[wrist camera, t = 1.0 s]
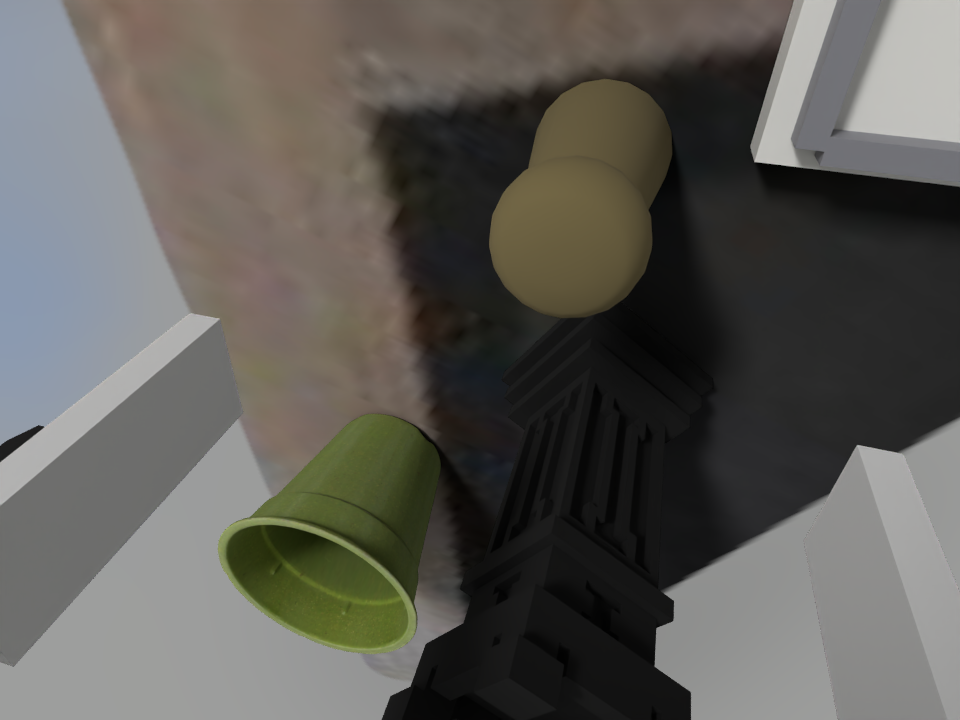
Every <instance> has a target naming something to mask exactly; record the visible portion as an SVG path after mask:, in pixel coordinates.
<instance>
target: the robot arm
mask: <svg viewBox="0 0 960 720" xmlns="http://www.w3.org/2000/svg"><path fill="white" fill-rule="evenodd" d="M242 413H243V409H242V405H241V401H240V397H239V393H238V389H237V385H236V381H235V377H234V373H233V369H232V365H231V361H230V357H229V353H228V349H227V345H226V341H225V337H224V333H223V329H222V325H221V321H220V319H218V318H213V317H207V316H202V315H197V314H192V313H189V314H188V315H187V316H186V317H184V318H183V319H182V320H181V321H179V322H178V323H177V324H175V325H174V326H173V327H172V328H170V329H169V330H168V331H166V332H165V333H164V334H163V335H161V336H160V337H159V338H158V339H156V340H155V341H154V342H152V343H151V344H150V345H149V346H147V347H146V348H145V349H144V350H142V351H141V352H140V353H138V354H137V355H136V356H135V357H133V358H132V359H131V360H130V361H128V362H127V363H126V364H125V365H124V366H122V367H121V368H119V369H118V370H117V371H116V372H115V373H113V374H112V375H111V376H109V377H108V378H107V379H105V380H104V381H103V382H102V383H101V384H99V385H98V386H97V387H95V388H94V389H93V390H91V391H90V392H89V393H88V394H86V395H85V396H84V397H83V398H81V399H80V400H79V401H78V402H76V403H75V404H74V405H72V406H71V407H70V408H69V409H67V410H66V411H65V412H64V413H62V414H61V415H60V416H59V417H57V418H56V419H55V420H53V421H52V422H51V423H50V424H48V425H47V426H46V427H43V426H39V425H38V426H36V427H34V428H32V429H30V430H28V431H26V432H24V433H22V434H20V435H18V436H16V437H14V438H12V439H9V440H7V441H6V442H4V443H3V444H2V445H1V446H0V662H1V663H4V664H7V665H10V666H13V667H14V666H15V665H16V663H17V662H18V661H19V660H20V659H21V658H22V657H23V656H24V655H25V654H26V652H27V651H28V650H29V649H30V648H31V647H32V646H33V645H34V643H35V642H36V641H37V640H38V639H39V638H40V637H41V636H42V635H43V633H44V632H45V631H46V630H47V629H48V628H49V627H50V626H51V625H52V624H53V622H54V621H55V620H56V619H57V618H58V617H59V616H60V615H61V614H62V613H63V611H64V610H65V609H66V608H67V607H68V606H69V605H70V604H71V603H72V602H73V600H74V599H75V598H76V597H77V596H78V595H79V594H80V593H81V592H82V590H83V589H84V588H85V587H86V586H87V585H88V584H89V583H90V582H91V580H92V579H93V578H94V577H95V576H96V575H97V574H98V573H99V572H100V571H101V569H102V568H103V567H104V566H105V565H106V564H107V563H108V562H109V560H110V559H111V558H112V557H113V556H114V555H115V554H116V553H117V552H118V551H119V549H120V548H121V547H122V546H123V545H124V544H125V543H126V542H127V541H128V539H129V538H130V537H131V536H132V535H133V534H134V533H135V532H136V531H137V530H138V528H139V527H140V526H141V525H142V524H143V523H144V522H145V521H146V520H147V518H148V517H149V516H150V515H151V514H152V513H153V512H154V511H155V509H157V507H158V506H159V505H160V504H161V503H162V502H163V501H164V500H165V499H166V497H167V496H168V495H169V494H170V493H171V492H172V491H173V490H174V489H175V488H176V486H177V485H178V484H179V483H180V482H181V481H182V480H183V479H184V478H185V476H186V475H187V474H188V473H189V472H190V471H191V470H192V469H193V468H194V466H195V465H196V464H197V463H198V462H199V461H200V460H201V459H202V458H203V457H204V455H205V454H206V453H207V452H208V451H209V450H210V449H211V448H212V447H213V445H214V444H215V443H216V442H217V441H218V440H219V439H220V438H221V437H222V435H223V434H224V433H225V432H226V431H227V430H228V429H229V428H230V427H231V425H232V424H233V423H234V422H235V421H236V420H237V419H238V418H239V417H240V416H241V414H242ZM804 545H805V551H806V556H807V561H808V565H809V571H810V576H811V582H812V587H813V592H814V597H815V603H816V608H817V613H818V619H819V623H820V629H821V634H822V639H823V645H824V649H825V655H826V660H827V666H828V671H829V676H830V681H831V686H832V692H833V697H834V702H835V707H836V712H837V717H838V720H960V591H959V589H958V586H957V584H956V581H955V579H954V577H953V575H952V572H951V569H950V567H949V565H948V562H947V560H946V557H945V555H944V552H943V550H942V547H941V545H940V543H939V540H938V538H937V535H936V533H935V530H934V528H933V525H932V523H931V520H930V518H929V516H928V513H927V511H926V509H925V506H924V503H923V501H922V499H921V496H920V494H919V491H918V489H917V487H916V484H915V481H914V479H913V477H912V474H911V472H910V469H909V467H908V464H907V462H906V460H905V457H904V455H903V454H900V453H895V452H890V451H885V450H880V449H875V448H870V447H865V446H860V445H857V446H856V448H855V450H854V452H853V453H852V455H851V457H850V459H849V460H848V462H847V464H846V466H845V468H844V469H843V471H842V473H841V475H840V477H839V478H838V480H837V482H836V484H835V486H834V487H833V489H832V491H831V493H830V494H829V496H828V498H827V500H826V502H825V503H824V505H823V507H822V509H821V511H820V512H819V514H818V516H817V518H816V520H815V522H814V523H813V525H812V527H811V529H810V530H809V532H808V534H807V536H806V537H805V539H804Z"/></svg>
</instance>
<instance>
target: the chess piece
mask: <svg viewBox="0 0 960 720" xmlns="http://www.w3.org/2000/svg"><path fill="white" fill-rule="evenodd" d="M502 381H503V382H505V383H506V384H507V385H509V386H510V387H509V388H508V389H507V392H506V395H505V397H504V398H505V399H507V400H508V401H509V402H511V403H512V404H513V406H512V407H511V409H510V412H509V414H508V418H510V419H511V420H512V421H514V422H515V423H516V424H518V425H519V426H520V427H522V428H523V429H524V430H525V431H524V434H523V438H522V441H521V444H520V447H519V450H518V453H517V457H516V460H515V463H514V466H513V469H512V472H511V475H510V479H509V482H508V485H507V488H506V491H505V494H504V497H503V501H502V504H501V507H500V510H499V513H498V516H497V520H496V523H495V526H494V529H493V532H492V535H491V538H490V542H489V545H488V548H487V551H486V554H485V557H484V561H482V562H480V563H479V564H477V565H476V566H474V567H473V568H471V569H469V570H468V571H466V573H465V576H464V579H463V582H462V585H461V588H460V589H461V590H462V591H464V592H465V593H466V594H468V595H469V596H471V597H472V598H471V602H470V605H469V608H468V611H467V614H466V617H465V620H464V623H463V624H461V625H459V626H458V627H456V628H454V629H452V630H450V631H449V632H447V633H445V634H443V635H441V636H440V637H438V638H436V639H434V640H432V641H430V642H429V643H427V644H426V645H425V648H424V651H423V653H422V656H421V659H420V662H419V665H418V667H417V670H416V673H415V676H414V678H413V681H412V684H411V687H409V688H407V689H404V690H403V691H400V692H399V693H396V694H394V695H392V696H391V697H390V699H389V702H388V705H387V707H386V710H385V713H384V715H383V718H382V720H691V693H690V691H688V690H687V689H685V688H684V687H682V686H681V685H680V684H678V683H677V682H675V681H674V680H672V679H671V678H670V677H668V676H667V675H665V674H664V673H663V672H661V671H659V670H658V669H657V668H655V667H654V665H655V643H656V628H657V627H660V626H662V625H665V624H667V623H670V622H672V621H673V618H674V601H673V600H672V599H670V598H669V597H668V596H666V595H665V594H664V593H662V592H661V591H660V590H658V577H659V555H660V532H661V510H662V488H663V466H664V444H665V443H666V442H668V441H670V440H671V439H673V438H674V437H676V436H677V435H679V434H680V433H682V432H684V431H685V430H687V429H688V428H690V416H689V415H691V414H692V413H694V412H695V411H697V410H698V409H700V408H701V407H702V397H701V396H702V395H703V394H705V393H706V392H708V391H709V390H711V389H712V388H713V379H712V378H711V377H710V376H709V375H707V374H706V373H705V372H704V371H703V370H701V369H700V368H699V367H698V366H697V365H695V364H694V363H693V362H692V361H691V360H689V359H688V358H687V357H686V356H685V355H683V354H682V353H681V352H680V351H679V350H677V349H676V348H675V347H674V346H673V345H671V344H670V343H669V342H668V341H667V340H665V339H664V338H663V337H662V336H661V335H659V334H658V333H657V332H656V331H655V330H653V329H652V328H651V327H650V326H649V325H647V324H646V323H645V322H644V321H643V320H641V319H640V318H639V317H638V316H637V315H635V314H634V313H633V312H632V311H630V310H629V309H628V308H627V307H626V306H624V305H623V304H622V303H621V302H619V303H617V304H616V305H614V306H613V307H612V308H610V309H609V310H606V311H603V312H600V313H597V314H594V315H591V316H588V317H579V318H562V319H561V320H560V321H558V322H557V323H556V324H555V325H554V326H553V327H552V328H551V329H550V330H549V331H548V332H547V333H546V334H545V335H543V336H542V337H541V338H540V339H539V340H538V341H537V342H536V343H535V344H534V345H533V346H532V347H531V348H530V349H528V350H527V351H526V352H525V353H524V354H523V355H522V356H521V357H520V358H519V359H518V360H517V361H516V362H515V363H514V364H512V365H511V366H510V367H509V368H508V369H507V370H506V371H505V372H504V375H503V377H502Z"/></svg>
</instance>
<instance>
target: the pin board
mask: <svg viewBox="0 0 960 720" xmlns="http://www.w3.org/2000/svg"><path fill="white" fill-rule="evenodd" d="M750 147H751V151H752V155H753V159H754V162H759V163H768V164H776V165H784V166H793V167H801V168H809V169H817V170H826V171H834V172H842V173H851V174H859V175H867V176H876V177H884V178H892V179H900V180H909V181H917V182H925V183H934V184H942V185H950V186H959V187H960V0H794V2H793V6H792V9H791V12H790V16H789V19H788V22H787V26H786V29H785V33H784V36H783V39H782V43H781V46H780V49H779V53H778V56H777V59H776V63H775V66H774V69H773V73H772V76H771V79H770V83H769V86H768V89H767V93H766V96H765V99H764V103H763V106H762V109H761V113H760V116H759V119H758V123H757V126H756V129H755V133H754V136H753V139H752V143H751V146H750Z"/></svg>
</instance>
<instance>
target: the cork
mask: <svg viewBox="0 0 960 720" xmlns="http://www.w3.org/2000/svg"><path fill="white" fill-rule="evenodd" d="M671 157H672V134H671V130H670V127H669V125H668V122H667V120H666V117H665V114H664V112H663V110H662V109H661V108H660V107H659V106H658V105H657V103H656V102H655V101H654V100H653V99H652V98H651V96H650V95H649V94H648V93H646V92H644V91H642V90H640V89H639V88H637V87H635V86H633V85H631V84H630V83H627V82H621V81H615V80H609V79H602V80H596V81H590V82H584V83H581V84H579V85H578V86H576V87H574V88H572V89H570V90H568V91H566V92H564V93H563V94H561V96H560V97H559V98H558V99H557V100H556V101H555V102H554V103H553V104H552V105H551V106H550V107H549V108H548V109H547V110H546V112H545V114H544V116H543V118H542V120H541V122H540V125H539V127H538V129H537V132H536V136H535V140H534V145H533V149H532V154H531V158H530V163H529V167H528V169H527V170H525V171H524V172H523V173H522V174H521V175H520V176H519V177H518V178H517V179H516V180H515V181H514V182H513V183H512V184H511V185H510V186H509V187H507V189H506V190H505V192H504V193H503V194H502V197H501V199H500V201H499V203H498V205H497V207H496V209H495V211H494V213H493V215H492V222H491V230H490V240H489V247H490V252H491V256H492V261H493V266H494V268H495V270H496V272H497V274H498V275H499V277H500V279H501V281H502V283H503V284H504V286H505V287H506V288H507V289H508V290H509V291H510V292H511V293H512V294H513V295H514V296H515V297H516V298H517V299H518V300H519V301H520V302H521V303H523V304H524V305H526V306H528V307H530V308H532V309H534V310H535V311H537V312H539V313H541V314H545V315H550V316H554V317H558V318H579V317H588V316H591V315H594V314H597V313H600V312H603V311H606V310H609V309H610V308H612V307H613V306H614V305H616V304H617V303H619V302H620V301H621V300H623V299H624V298H626V297H627V296H628V294H629V293H630V292H631V290H632V289H633V288H634V286H635V285H636V283H637V282H638V281H639V279H640V278H641V277H642V275H643V274H644V273H645V270H646V267H647V263H648V260H649V257H650V253H651V250H652V225H651V215H650V213H649V211H648V210H649V208H650V206H651V204H652V202H653V200H654V198H655V196H656V195H657V193H658V191H659V189H660V187H661V185H662V183H663V181H664V179H665V177H666V175H667V171H668V168H669V164H670V161H671Z"/></svg>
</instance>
